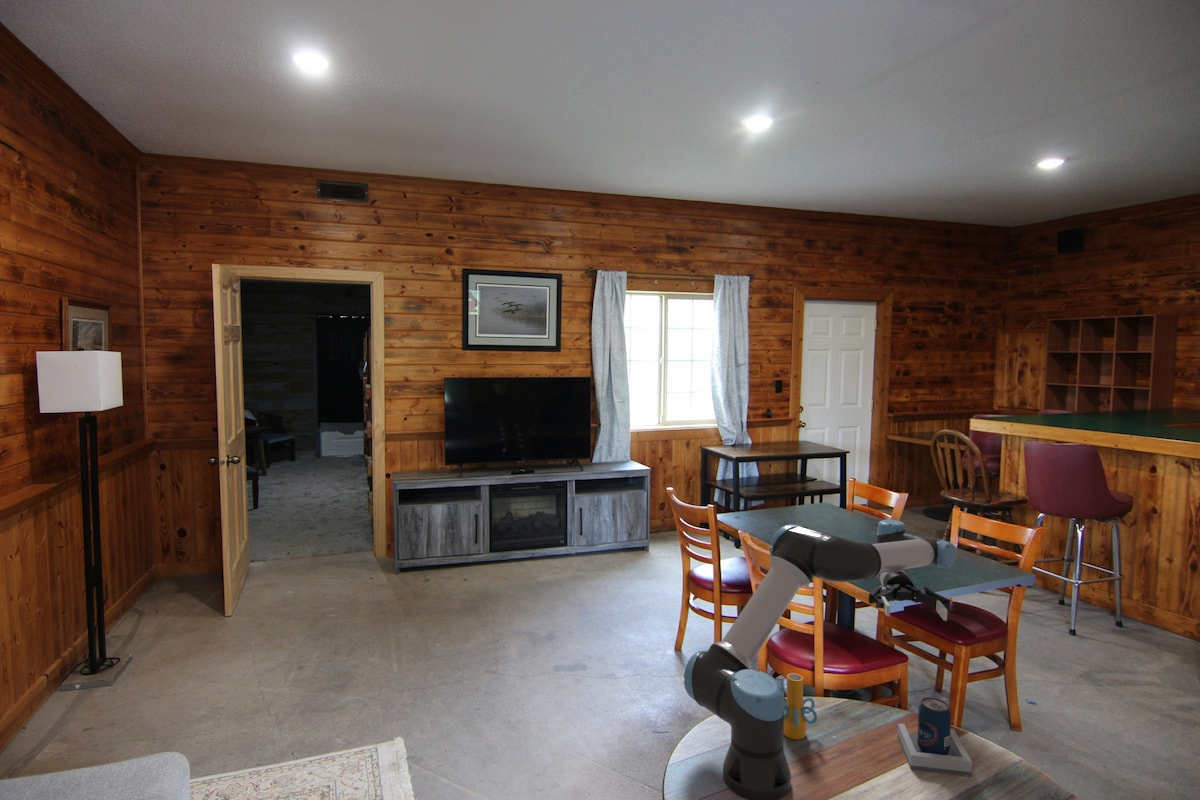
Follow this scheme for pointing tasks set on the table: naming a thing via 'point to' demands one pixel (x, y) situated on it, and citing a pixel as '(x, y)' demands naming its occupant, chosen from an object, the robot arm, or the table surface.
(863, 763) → the table surface
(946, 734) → the soda can
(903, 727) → the dock
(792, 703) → the yellow hollow tube
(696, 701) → the robot arm
